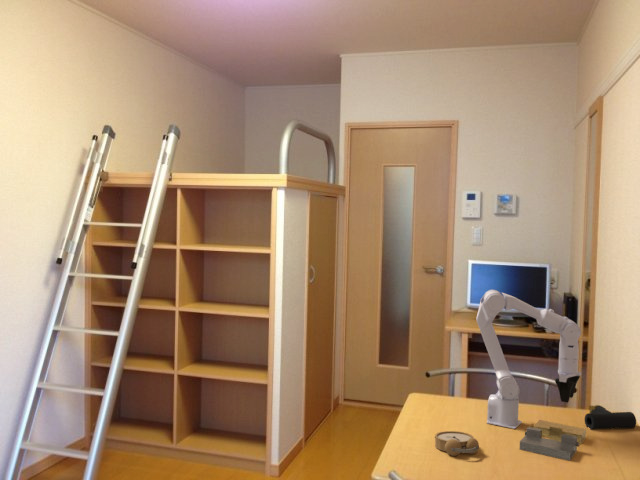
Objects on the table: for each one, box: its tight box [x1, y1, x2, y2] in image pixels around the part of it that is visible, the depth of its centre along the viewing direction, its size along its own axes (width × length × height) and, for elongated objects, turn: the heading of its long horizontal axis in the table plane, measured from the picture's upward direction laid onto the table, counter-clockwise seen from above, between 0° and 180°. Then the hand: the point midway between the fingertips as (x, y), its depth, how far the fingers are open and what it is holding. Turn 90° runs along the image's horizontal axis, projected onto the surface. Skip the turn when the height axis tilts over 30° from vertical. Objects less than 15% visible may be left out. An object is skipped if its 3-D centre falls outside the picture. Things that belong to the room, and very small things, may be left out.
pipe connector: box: [584, 404, 637, 430], centre depth 204 cm, size 12×5×15 cm
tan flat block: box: [533, 419, 587, 445], centre depth 191 cm, size 14×9×4 cm, turn 56°
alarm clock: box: [434, 430, 480, 457], centre depth 179 cm, size 11×5×15 cm
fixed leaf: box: [519, 426, 580, 462], centre depth 180 cm, size 15×9×4 cm, turn 56°
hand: (566, 399), depth 199 cm, fingers open, 6 cm apart
